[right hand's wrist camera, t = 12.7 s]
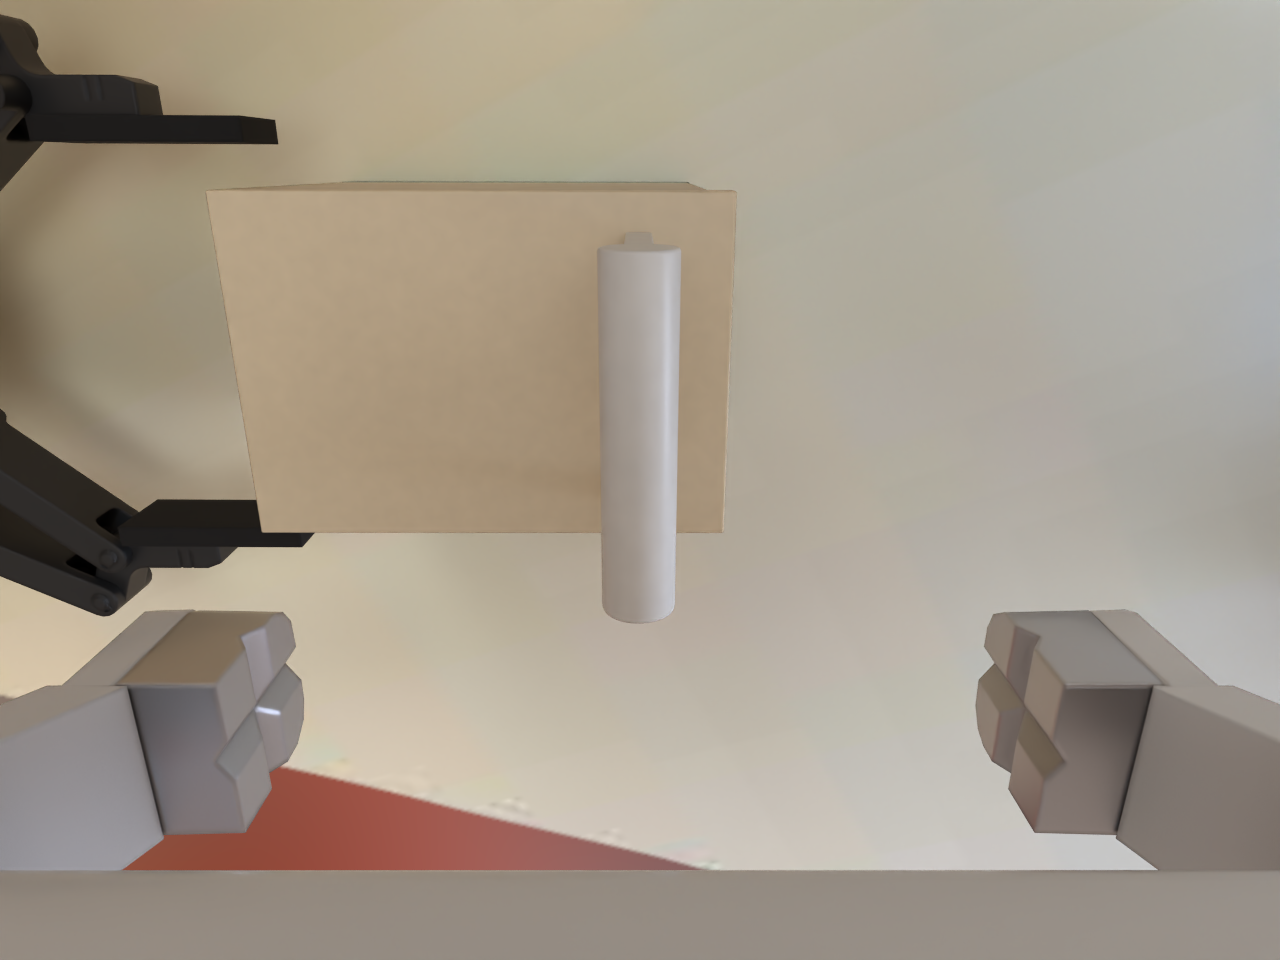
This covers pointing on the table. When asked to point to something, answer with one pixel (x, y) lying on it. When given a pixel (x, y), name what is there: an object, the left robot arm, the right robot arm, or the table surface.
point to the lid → (487, 365)
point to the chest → (491, 186)
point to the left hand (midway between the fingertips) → (290, 342)
